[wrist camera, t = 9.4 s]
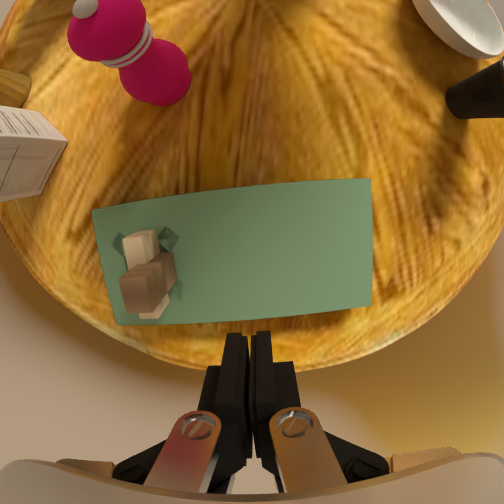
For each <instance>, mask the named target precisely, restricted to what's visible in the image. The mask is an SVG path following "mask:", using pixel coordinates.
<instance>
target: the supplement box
mask: <svg viewBox="0 0 504 504" xmlns="http://www.w3.org/2000/svg"><path fill="white" fill-rule="evenodd" d="M67 143H68V140H67V139H66V138H65V137H64V136H63V135H62V134H61V133H60V132H59V131H58V130H57V129H56V128H55V127H54V126H53V125H52V124H51V123H50V122H49V121H48V120H47V119H46V118H45V117H44V116H43V115H41V114H40V113H39V112H37V111H31V110H26V109H20V108H14V107H8V106H1V105H0V202H3V201H9V200H14V199H19V198H24V197H30V196H36V195H40V194H41V193H42V190H43V188H44V186H45V184H46V182H47V180H48V178H49V176H50V174H51V172H52V170H53V168H54V166H55V164H56V162H57V161H58V159H59V157H60V155H61V153H62V151H63V150H64V148H65V146H66V144H67Z"/></svg>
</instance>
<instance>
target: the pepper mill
mask: <svg viewBox="0 0 504 504" xmlns="http://www.w3.org/2000/svg"><path fill="white" fill-rule="evenodd" d="M72 12H73V14H74V16H73V17H72V19H71V21H70V24H69V27H68V33H67V37H68V42H69V45H70V47H71V49H72V50H73V51H74V52H75V53H76V54H77V55H78V56H79V57H81V58H83V59H85V60H88V61H96V62H101V63H103V64H104V65H105V66H108V67H111V68H118V69H119V74H120V80H121V82H122V84H123V86H124V88H125V90H126V91H127V92H128V93H129V94H130V95H131V96H132V97H133V98H135V99H137V100H140V101H143V102H149V103H151V104H153V105H156V106H166V105H170V104H173V103H175V102H177V101H178V100H180V99H181V98H182V97H183V96H184V95H185V94H186V92H187V91H188V89H189V87H190V83H191V74H190V71H189V69H188V63H187V59H186V56H185V54H184V53H183V52H182V50H181V49H180V48H179V47H177V46H176V45H175V44H173V43H171V42H168V41H165V40H161V39H154V38H153V37H152V35H153V32H152V28H151V26H150V24H149V23H148V22H147V20H146V12H145V8H144V6H143V4H142V3H141V1H140V0H77V1H76V2H75V3H74V5H73V8H72Z"/></svg>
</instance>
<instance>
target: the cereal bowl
mask: <svg viewBox="0 0 504 504" xmlns="http://www.w3.org/2000/svg"><path fill="white" fill-rule="evenodd" d="M412 2H413V3H414V6H415V8H416V10H417V11H418V13H419V15H420V16H421V18H422V19H423V20H424V22H425V23H426V24H427V25H428V27H429V28H430V29H431V30H432V31H433V32H434V33H435V34H436V35H437V36H438V37H439V38H440V39H441V40H442V41H443V42H445V43H446V44H447V45H448V46H450V47H451V48H453V49H454V50H456V51H457V52H459V53H461V54H463V55H465V56H468V57H472V58H476V59H489V58H493V57H496V56H498V55H500V54H501V53H502V51H503V50H504V33H503V30H502V27H501V24H500V22H499V20H498V18H497V16H496V14H495V12H494V11H493V9H492V8H491V6H490V5H489V3H488V2H487V1H486V0H412Z"/></svg>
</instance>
